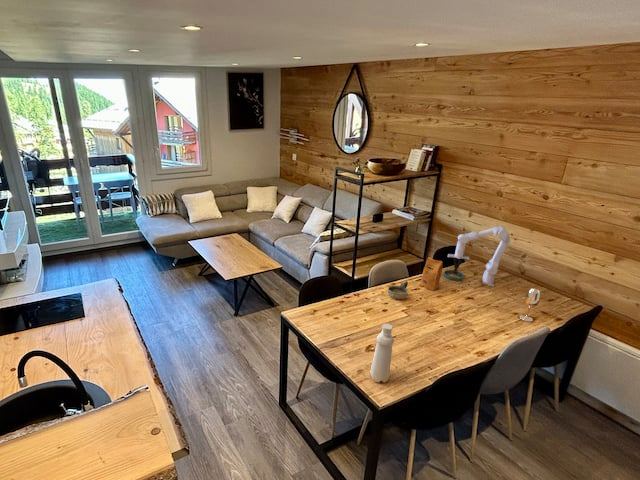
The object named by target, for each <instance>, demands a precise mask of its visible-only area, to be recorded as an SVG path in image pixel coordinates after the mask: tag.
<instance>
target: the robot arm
mask: <svg viewBox="0 0 640 480" xmlns="http://www.w3.org/2000/svg"><path fill="white" fill-rule="evenodd" d="M491 235H492V236H495V237H498V238H499V239H500V242H499V244H498V245H497V248H496V250H495V252H494V253H493V255H492V257H491V259H490V260H489V261H487V263H486V264H485V270H484V272H483V274H482V282H483V284H486V285H487V286H488V287H493V288H494V287H495V284H494V282H495V278H496V275H497V273H498V271H499V270H498V269H499V266H500V261H501V259H502V258H503V255H504V254H505V252H506V250H507V248H508V246H509V244H510V242H511V239H510V233H509V231H508V230H507V229H506V227H505V226H503V225H497V226H493V227H491V228H487V229H485V230H481V231H473V230H472V231H471V232H467V233H464V234H463V233H461V234H459V235H458V236H457V242H456V247H455V250H454V251H455V252H454V254H453V253H448V254H447V258H451V259H453V264H454V265H453V266H454V268H455V267H456V264H458V266H457V269H458V268H459V267H460V266H461V264H462V263H463V262H464V260H467V261H470V256H466V255H464V254H465V249H466V246H467V245H466V244H467V243H468V242H473V241H477V240H478V239H479V238H481V237H486V236H491Z"/></svg>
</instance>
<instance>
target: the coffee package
mask: <svg viewBox="0 0 640 480" xmlns="http://www.w3.org/2000/svg"><path fill="white" fill-rule="evenodd" d="M443 263H444V262H443V261H442V260H437V259H433V258H432V257H430V256H428V257H427V259H426V262H425V266H424V267H423V271H422V274H421V278H420V287H423V288H425V289H427V290H430V291H435V290H437V289H439V286H440V282H441V281H440V280H441V277H442V273H443Z"/></svg>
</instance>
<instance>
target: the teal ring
mask: <svg viewBox="0 0 640 480" xmlns="http://www.w3.org/2000/svg"><path fill="white" fill-rule="evenodd" d="M452 270H453V269H446V270H444V271H443V278H445V279H446V280H449V281H451V282H463V281H464V279H465V274H463V273H462V272H461V271H458V274H454V273H452ZM448 274H450V275H448ZM451 275H455V276H457V277H454V276H451Z"/></svg>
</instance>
